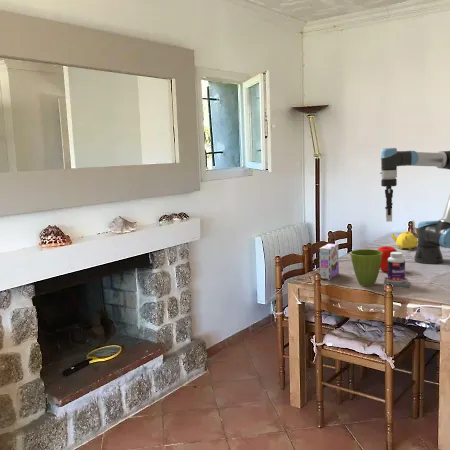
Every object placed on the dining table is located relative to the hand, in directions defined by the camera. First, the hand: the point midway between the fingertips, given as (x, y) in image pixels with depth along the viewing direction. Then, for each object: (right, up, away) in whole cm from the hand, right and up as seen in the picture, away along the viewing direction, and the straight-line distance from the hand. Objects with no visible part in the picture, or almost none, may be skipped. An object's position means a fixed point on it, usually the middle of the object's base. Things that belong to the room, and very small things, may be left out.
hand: (388, 219), depth 263 cm
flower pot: (-16, -32, -14) cm, 38 cm away
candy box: (-30, -30, +4) cm, 43 cm away
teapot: (+31, -18, +62) cm, 72 cm away
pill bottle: (-2, -31, -17) cm, 35 cm away
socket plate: (-2, -32, -17) cm, 36 cm away
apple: (+2, -28, +9) cm, 29 cm away
